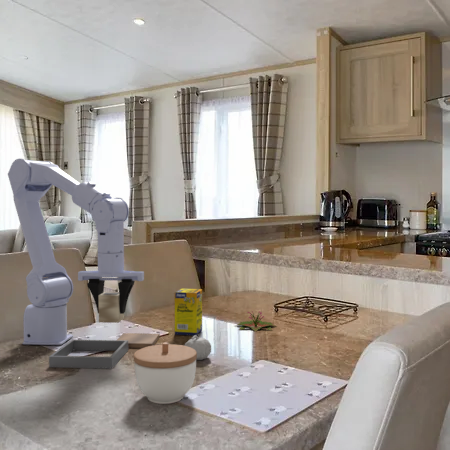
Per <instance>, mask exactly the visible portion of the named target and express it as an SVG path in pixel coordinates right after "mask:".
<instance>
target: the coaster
mask: <svg viewBox="0 0 450 450" xmlns="http://www.w3.org/2000/svg"><path fill="white" fill-rule="evenodd" d="M116 340H128V349H130V348H132V349H133V348H135V349H142V348H145V347H148V346H154V345H156V344H157V342H158V341H159V340H160V333H144V332H143V333H140V332H139V333H137V332H136V333H132V332H128V333H127V332H123V333H122V334H121V335H120V336H119V337H118V338H117V339H116Z"/></svg>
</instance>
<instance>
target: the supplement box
mask: <svg viewBox="0 0 450 450" xmlns="http://www.w3.org/2000/svg"><path fill="white" fill-rule="evenodd" d="M173 294H174V297H173V298H174V335H177V336H192V337H193V336H195V335H197V336H198V334H200V333H201V332H202V331H203V289H202V288H201V289H200V288H180V289H178V290H177V291H174V293H173Z"/></svg>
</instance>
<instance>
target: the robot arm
mask: <svg viewBox="0 0 450 450" xmlns="http://www.w3.org/2000/svg"><path fill="white" fill-rule="evenodd" d="M7 176H8V180H9V181H8V182H9V184H10V186H11V190H12V194H13V195H12V197H13V203H14V207H15V210H16V214H17V217H18V220H19V223H20V227H21V230H22V234H23V235H22V236H23V237H24V238H23V239H24V241H25V245H26V248H27V253H28V255H29V260H30V262H31V266H32V269H31V270H30V271H29V272H28V274H27V276H26V277H25V282H26V296H27V298H28V300H29V302H30V303H31V304H27V306H26V307H25V309H24V313H23V341H22V345H34V346H35V345H42V346H43V345H45V346H48V345H49V346H50V345H51V346H55V345H56V346H61V345H63V344H64V343H66V342H67V341H70V339H71V338H74V337H73V336H74V335H73V334H68V320H67V319H68V318H67V317H68V314H67V313H68V312H67V311H68V310H67V303H69V302H70V301H69V300H70V298H71V297H72V295H73V292H74V283H73V280H72V279H71V277H70V276H69V275H68V272H67V269H66V268H65V267H64V266H63V265H62V264H60V263H58V262H57V261H56V258H55V254H54V251H53V246H52V244H51V240H50V237H49V233H48V230H47V227H46V223H45V219H44V217H43V212H42V209H41V205H40V200H41V198H43V197H45V195H46V194H47V193H48V192H49V190H50V189H51V188H52V186H54V187H56V188H57V189H58V190H61V191H63V192H65V193H67V194H68V195H70V196H71V200H72V202H73V204H74V205H76V206H78V207H79V208H81V209H82V210H84V211H86V212H87V213H89V214H90V215H91V218H92V221H94V225H95V230H96V233H97V234H96V235H97V270H80V271H78V272H77V281H78V282H79V281H80V282H82V281H88V282H87V283H86V284H87V288H88V289H89V291H90V293H91V296H92V297H93V299H94V302H95V303H94V304H95V307H96V311H97V314H99V295H100V294H102V293H104V292H105V291H104V290H105V283H106V282H105V281H120V282H118V283H117V286H118V292H119V295H120V308H119V309H120V314H123V313H124V314H125V313H126V310H127V309H126V308H127V303H128V300H129V296H130V294H131V292H132V288H133V287H134V285H135V282H143V281H145V271H142V270H141V271H136V270H135V271H134V270H125V247H124V246H125V242H124V241H125V236H124V235H125V232H124V231H125V230H124V229H125V228H124V225H125V224H124V222H126V221H127V220H128V217H129V213H130V210H129V209H130V208H129V205H128V203H127V202H126V201H125V200H124V199H123V198H122V197H113V198H112V196H111V193H109V192H107V191H102V190H101V189H100V188H98V187H96V185H97V184H96V183H95V182H93V181H83V182H79V181H77V180H76V179H75V178H73V177H72V176H71V175H69V174H68V173H66V172H65V171H64V170H62V168H60V167H59V165H58V164H55V163H53V162H51V160H50V161H49V160H45V161H44V160H33V159H24V158H16V159H15V160H13V162H12V163H11V165H10V168H9V171H8V173H7Z"/></svg>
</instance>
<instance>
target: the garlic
mask: <svg viewBox="0 0 450 450" xmlns="http://www.w3.org/2000/svg"><path fill="white" fill-rule="evenodd" d="M183 346H188V347H191V348H193V349H195V351H196V352H197V358H196V361H202V360H205V359H207V358H208V357H209V356H210V355H211V353H212V345H211V343H210V341H209V340H208V339H207V338H204V337H199V336H198V334H197V335H195V336H192V337H191V338H190V339H188V341H187V342H185V343H184V344H183Z"/></svg>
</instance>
